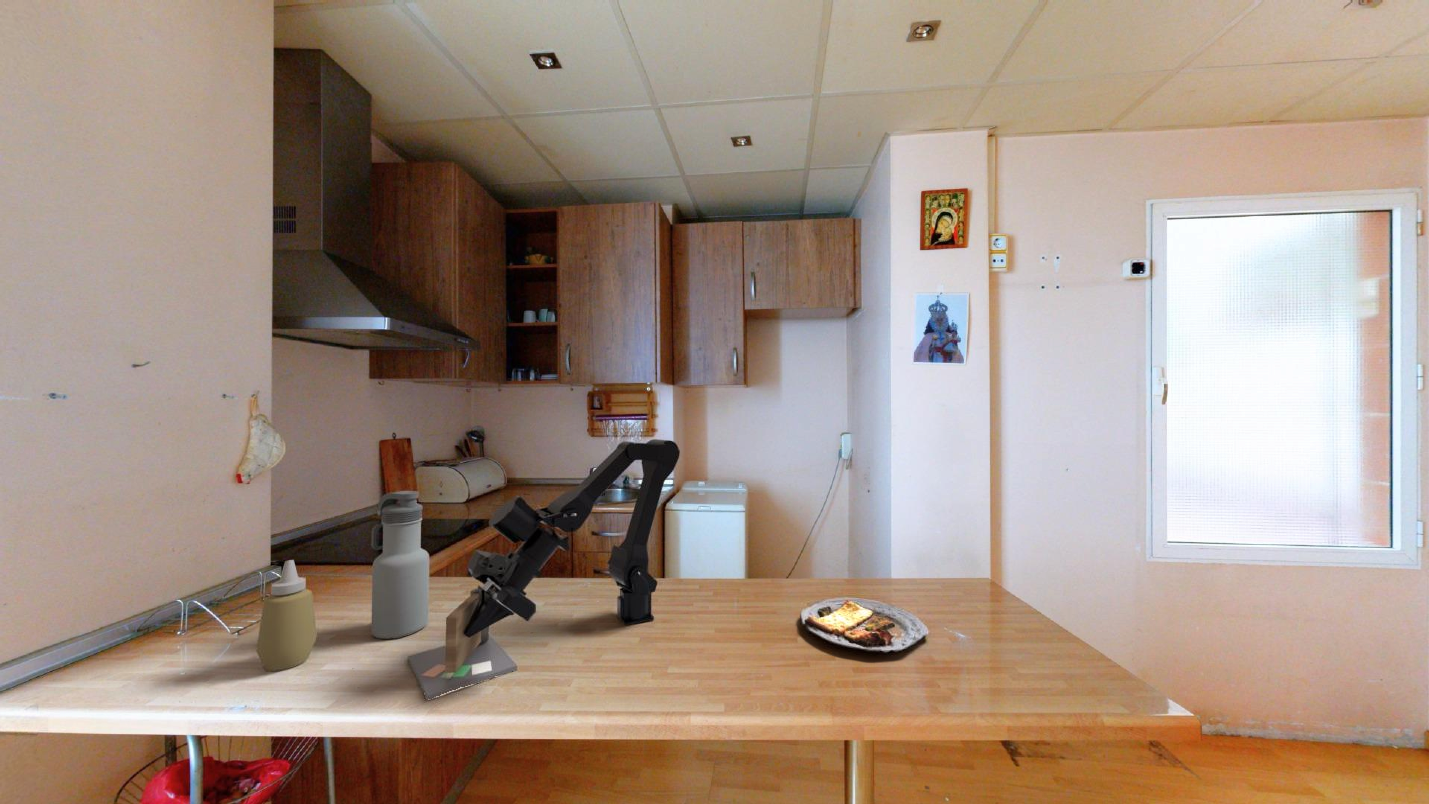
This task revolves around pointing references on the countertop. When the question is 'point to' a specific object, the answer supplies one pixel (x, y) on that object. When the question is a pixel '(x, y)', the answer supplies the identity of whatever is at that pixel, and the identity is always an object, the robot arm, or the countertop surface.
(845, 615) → the food plate
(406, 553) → the water bottle
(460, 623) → the upright wooden block
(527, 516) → the robot arm
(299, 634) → the squeeze bottle
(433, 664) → the grey flat board
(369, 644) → the countertop surface
